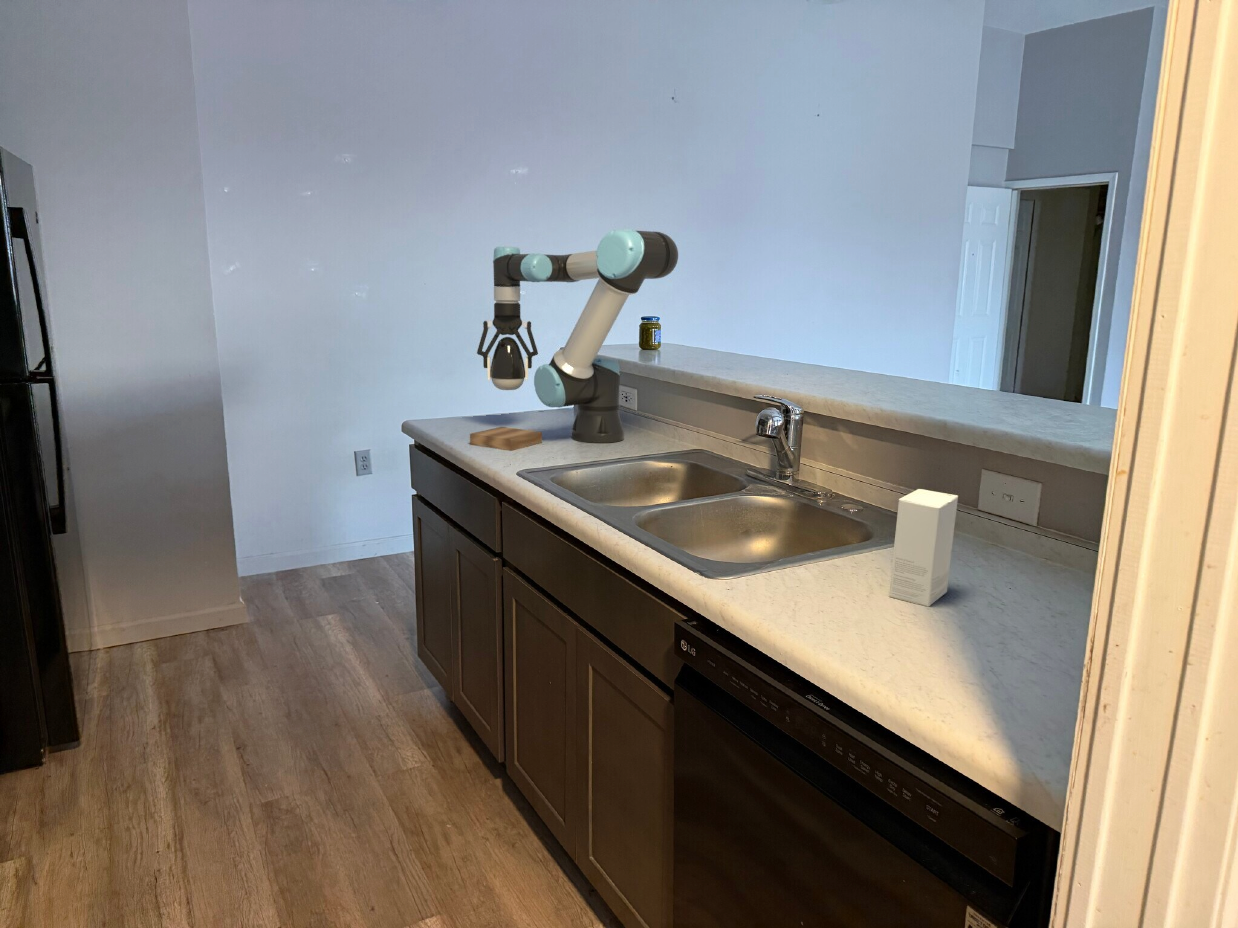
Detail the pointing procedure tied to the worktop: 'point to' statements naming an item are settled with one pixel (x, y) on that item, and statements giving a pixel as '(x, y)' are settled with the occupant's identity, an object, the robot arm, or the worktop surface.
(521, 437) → the walnut stand
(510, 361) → the glossy black egg shape
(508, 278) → the robot arm
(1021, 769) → the worktop surface
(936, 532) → the skincare box
